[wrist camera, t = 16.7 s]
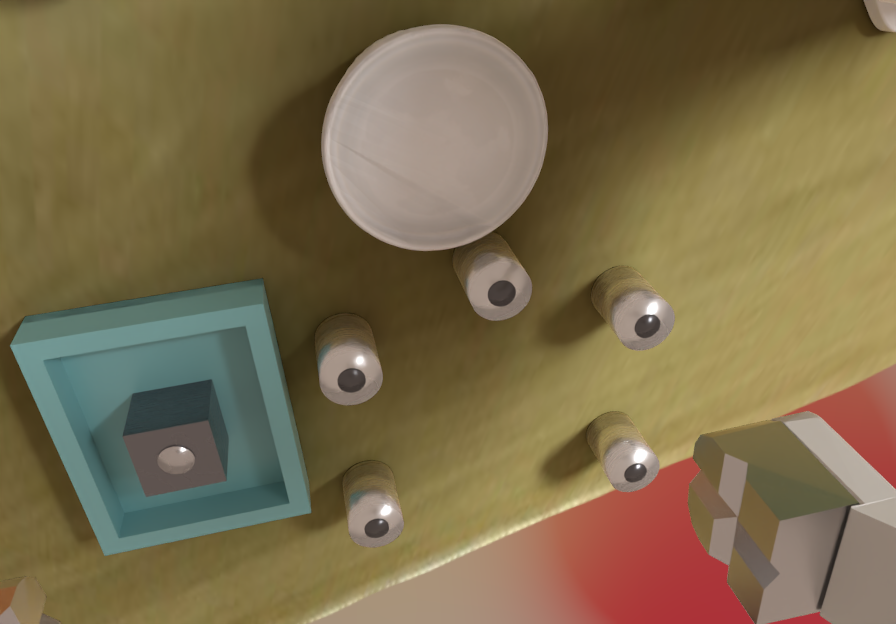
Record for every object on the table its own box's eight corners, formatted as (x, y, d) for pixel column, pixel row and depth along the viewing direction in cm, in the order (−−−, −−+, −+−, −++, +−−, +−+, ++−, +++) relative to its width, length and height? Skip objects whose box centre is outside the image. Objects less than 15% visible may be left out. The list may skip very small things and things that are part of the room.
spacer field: (648, 204, 46) (684, 235, 43) (630, 444, 57) (658, 487, 53) (298, 260, 43) (302, 298, 39) (346, 503, 53) (353, 553, 50)
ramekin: (321, 219, 42) (328, 260, 38) (308, 9, 37) (315, 28, 32) (511, 208, 45) (539, 245, 40) (525, 8, 39) (560, 26, 35)
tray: (262, 278, 43) (263, 303, 41) (308, 481, 52) (311, 512, 49) (25, 316, 41) (9, 345, 39) (112, 521, 50) (104, 555, 47)
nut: (212, 379, 45) (208, 421, 42) (229, 437, 47) (226, 482, 44) (132, 393, 44) (122, 437, 41) (153, 452, 47) (145, 498, 43)
